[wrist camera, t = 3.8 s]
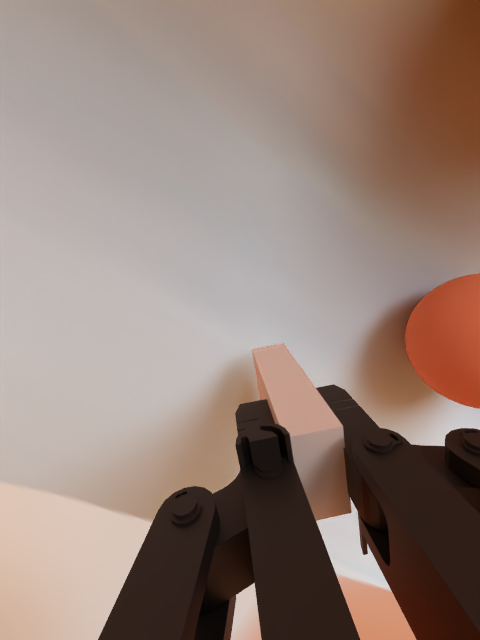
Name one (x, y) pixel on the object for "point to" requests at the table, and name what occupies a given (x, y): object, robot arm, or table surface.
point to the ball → (448, 340)
